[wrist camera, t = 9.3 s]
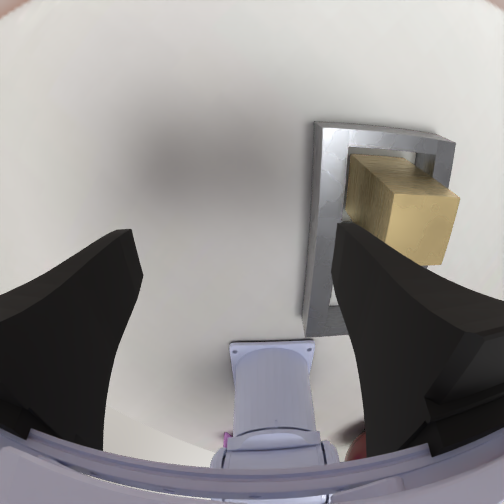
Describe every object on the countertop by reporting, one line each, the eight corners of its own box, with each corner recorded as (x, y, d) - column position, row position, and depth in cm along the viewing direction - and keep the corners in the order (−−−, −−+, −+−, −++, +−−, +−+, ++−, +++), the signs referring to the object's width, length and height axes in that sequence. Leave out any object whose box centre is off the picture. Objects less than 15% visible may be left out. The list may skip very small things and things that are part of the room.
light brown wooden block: (395, 210, 20) (441, 264, 14) (345, 209, 20) (379, 267, 14) (403, 157, 18) (460, 197, 12) (350, 153, 18) (394, 193, 12)
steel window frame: (395, 309, 25) (404, 328, 23) (301, 316, 26) (305, 337, 24) (436, 134, 17) (455, 142, 15) (314, 121, 17) (322, 127, 15)
